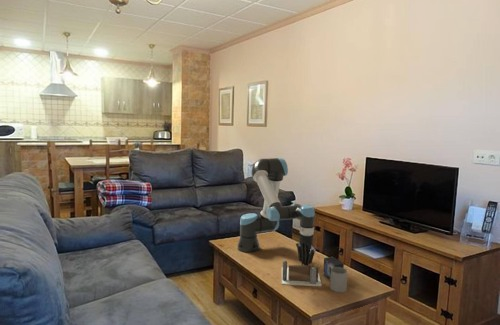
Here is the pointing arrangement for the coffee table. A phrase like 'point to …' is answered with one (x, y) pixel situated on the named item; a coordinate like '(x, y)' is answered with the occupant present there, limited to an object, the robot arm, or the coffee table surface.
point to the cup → (338, 279)
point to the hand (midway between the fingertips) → (304, 274)
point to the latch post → (312, 275)
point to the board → (294, 282)
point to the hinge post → (284, 271)
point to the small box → (331, 265)
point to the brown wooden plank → (301, 272)
